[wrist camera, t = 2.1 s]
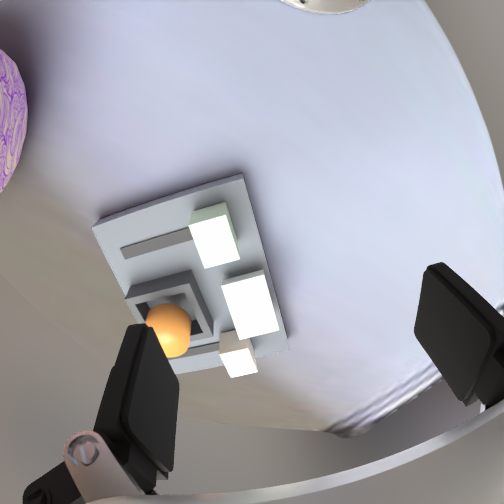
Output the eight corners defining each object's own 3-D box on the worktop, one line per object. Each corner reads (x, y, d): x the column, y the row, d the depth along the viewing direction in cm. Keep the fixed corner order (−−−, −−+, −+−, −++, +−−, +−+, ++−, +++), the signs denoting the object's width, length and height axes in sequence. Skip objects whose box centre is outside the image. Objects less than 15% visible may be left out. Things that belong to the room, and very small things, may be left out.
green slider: (225, 201, 26) (225, 214, 23) (238, 242, 28) (239, 259, 25) (192, 211, 26) (188, 225, 23) (206, 250, 28) (204, 268, 25)
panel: (242, 173, 27) (245, 185, 23) (287, 338, 37) (293, 364, 33) (98, 219, 28) (82, 238, 24) (175, 363, 38) (171, 388, 34)
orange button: (181, 298, 27) (177, 318, 25) (198, 332, 29) (196, 352, 27) (139, 308, 28) (133, 327, 25) (158, 341, 30) (154, 360, 27)
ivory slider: (245, 327, 33) (247, 348, 30) (254, 351, 34) (257, 371, 32) (219, 333, 33) (219, 354, 30) (230, 357, 35) (231, 377, 32)
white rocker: (262, 269, 29) (263, 274, 28) (277, 323, 31) (279, 330, 29) (222, 280, 29) (221, 285, 28) (239, 332, 31) (239, 339, 29)
